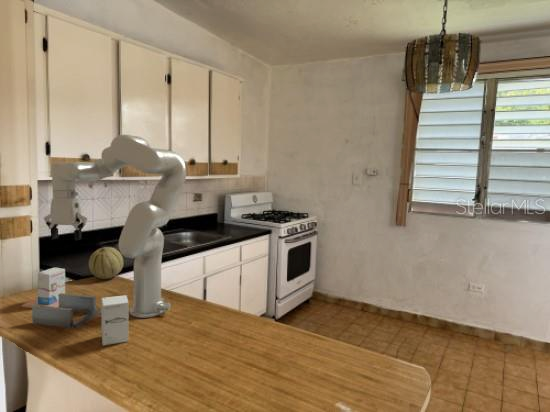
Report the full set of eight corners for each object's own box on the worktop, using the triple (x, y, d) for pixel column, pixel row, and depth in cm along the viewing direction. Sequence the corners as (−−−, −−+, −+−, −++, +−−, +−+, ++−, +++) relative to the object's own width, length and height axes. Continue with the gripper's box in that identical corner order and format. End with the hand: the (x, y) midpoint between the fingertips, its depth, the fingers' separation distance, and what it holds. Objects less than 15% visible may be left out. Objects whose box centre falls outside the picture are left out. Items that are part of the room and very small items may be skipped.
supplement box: (102, 346, 108) (101, 305, 107) (101, 336, 115) (100, 297, 114) (129, 342, 112) (128, 302, 110) (126, 332, 118) (126, 294, 117)
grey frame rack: (100, 313, 132) (100, 297, 131) (75, 328, 119) (75, 310, 119) (61, 308, 134) (60, 293, 134) (32, 323, 122) (32, 306, 121)
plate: (78, 298, 145) (78, 296, 145) (53, 310, 133) (53, 308, 133) (48, 295, 147) (48, 293, 147) (21, 307, 135) (21, 304, 135)
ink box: (49, 305, 135) (48, 274, 134) (37, 303, 136) (36, 272, 135) (66, 297, 144) (65, 267, 142) (54, 296, 144) (53, 266, 143)
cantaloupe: (124, 272, 181) (123, 242, 180) (122, 281, 168) (122, 249, 166) (90, 274, 176) (90, 243, 175) (86, 284, 162) (86, 250, 161)
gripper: (91, 194, 142) (93, 238, 144) (50, 193, 144) (52, 236, 146) (78, 196, 134) (80, 242, 136) (36, 195, 137) (38, 240, 138)
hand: (66, 239), depth 141 cm, fingers open, 9 cm apart
